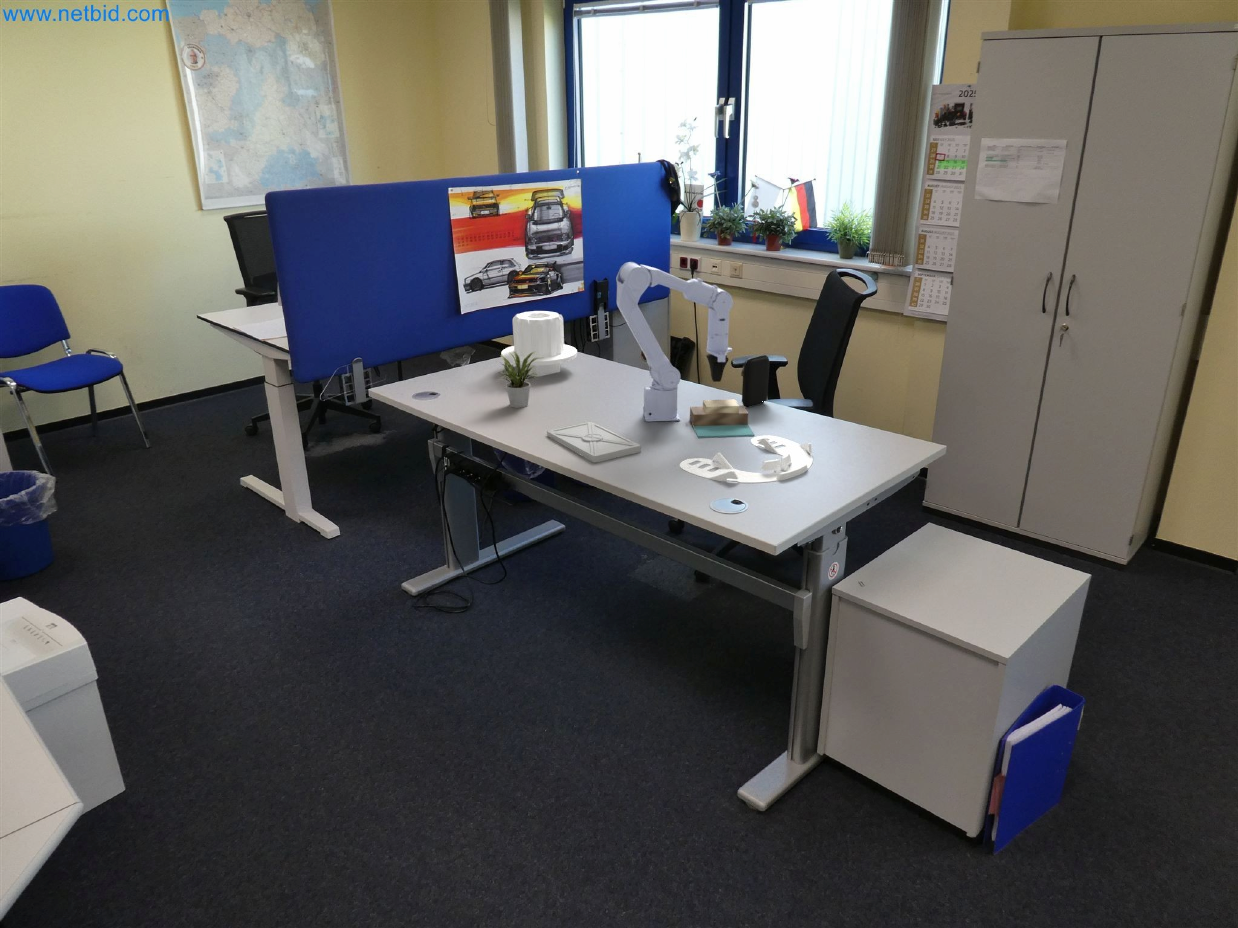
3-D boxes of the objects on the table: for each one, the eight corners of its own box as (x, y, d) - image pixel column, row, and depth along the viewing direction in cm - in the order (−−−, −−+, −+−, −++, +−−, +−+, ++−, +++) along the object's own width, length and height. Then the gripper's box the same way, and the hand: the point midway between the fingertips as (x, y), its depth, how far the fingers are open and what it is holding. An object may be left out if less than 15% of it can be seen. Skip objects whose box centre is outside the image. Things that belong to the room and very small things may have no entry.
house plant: (551, 398, 259) (549, 345, 253) (543, 412, 246) (541, 357, 240) (505, 397, 260) (502, 344, 254) (494, 411, 248) (491, 356, 242)
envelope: (591, 428, 235) (547, 438, 228) (590, 420, 235) (546, 430, 228) (640, 452, 216) (594, 463, 210) (640, 444, 216) (594, 455, 209)
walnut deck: (693, 426, 234) (693, 414, 232) (689, 418, 240) (690, 406, 239) (747, 425, 235) (748, 413, 233) (742, 417, 241) (743, 405, 240)
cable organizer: (767, 435, 229) (768, 423, 227) (841, 460, 211) (843, 447, 210) (671, 467, 208) (671, 454, 207) (744, 497, 191) (745, 483, 189)
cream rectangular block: (706, 413, 233) (706, 406, 232) (702, 407, 239) (703, 400, 238) (739, 412, 234) (739, 405, 233) (734, 406, 239) (735, 399, 238)
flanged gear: (549, 358, 303) (547, 304, 296) (592, 372, 285) (591, 316, 278) (488, 370, 288) (484, 314, 282) (530, 386, 271) (527, 327, 264)
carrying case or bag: (744, 410, 246) (746, 361, 241) (736, 408, 249) (738, 358, 243) (769, 403, 252) (772, 354, 247) (761, 401, 255) (764, 352, 249)
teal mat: (698, 437, 226) (698, 436, 226) (693, 427, 233) (693, 426, 233) (754, 435, 227) (754, 434, 226) (748, 426, 234) (748, 424, 234)
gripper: (737, 339, 230) (735, 387, 235) (727, 327, 244) (725, 373, 249) (711, 339, 230) (709, 388, 235) (703, 327, 243) (701, 373, 248)
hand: (716, 380), depth 242 cm, fingers closed
